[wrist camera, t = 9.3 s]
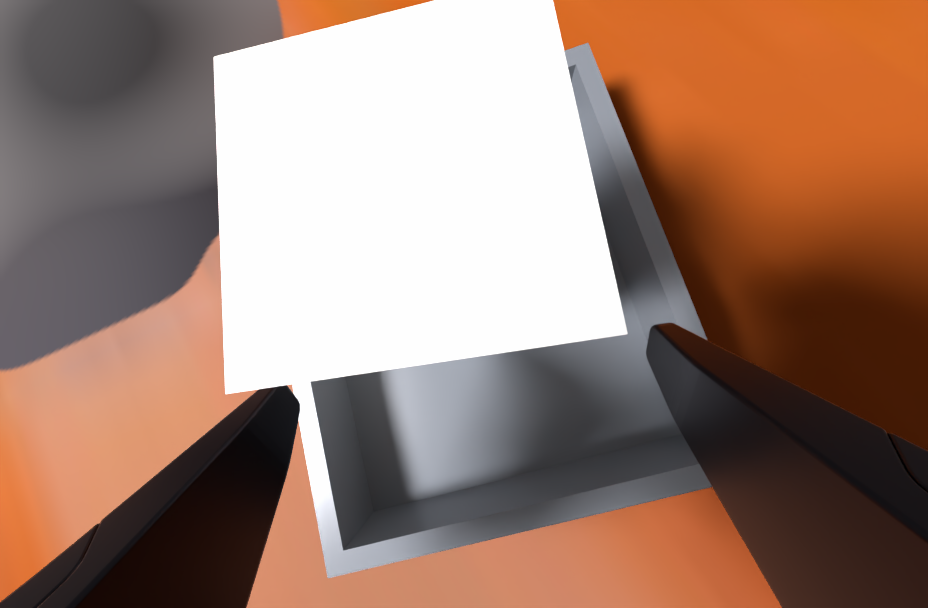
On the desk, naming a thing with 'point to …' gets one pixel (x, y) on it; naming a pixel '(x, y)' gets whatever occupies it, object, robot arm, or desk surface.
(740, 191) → the desk surface
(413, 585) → the desk surface
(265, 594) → the desk surface
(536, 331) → the cream block
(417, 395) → the tray
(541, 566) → the desk surface
